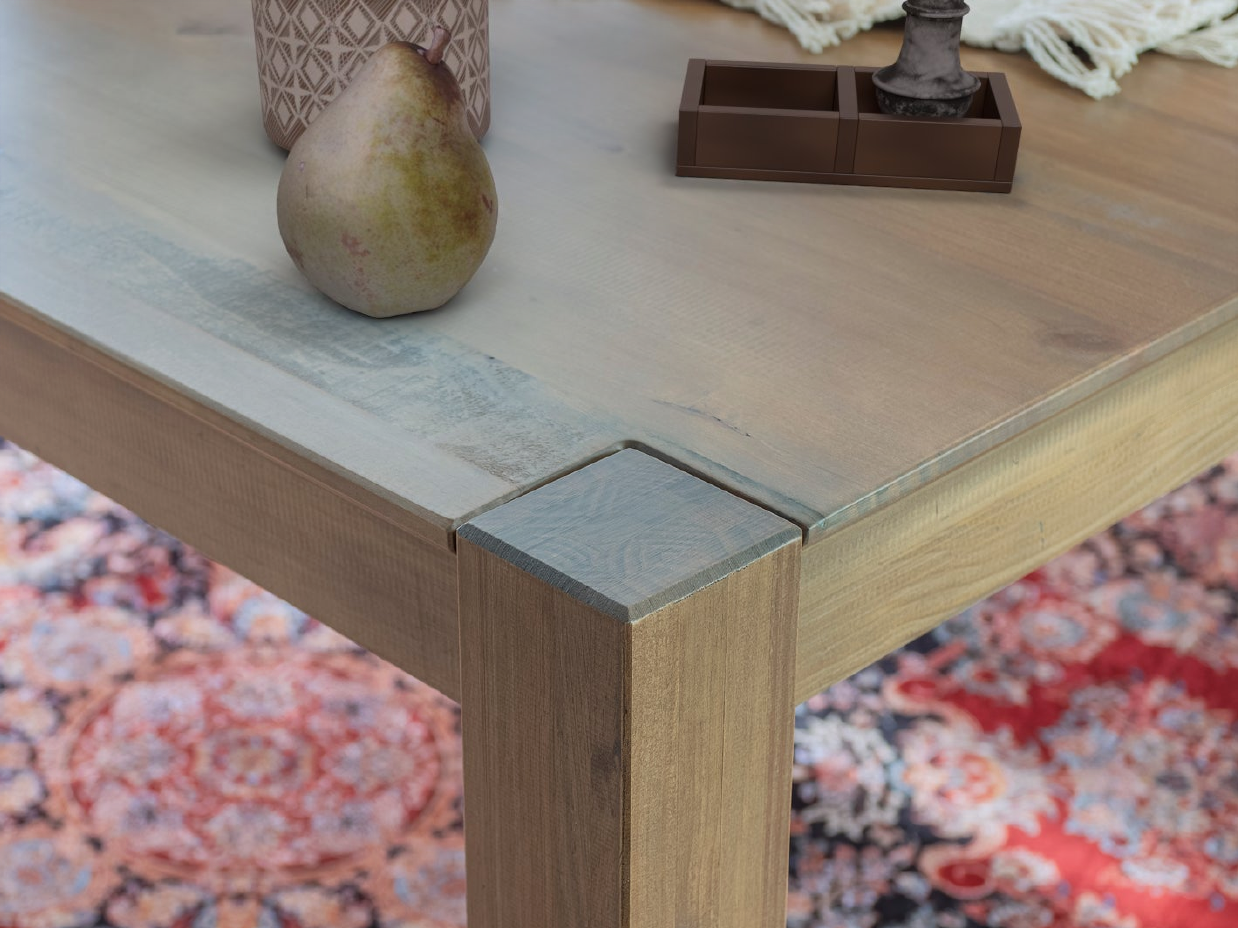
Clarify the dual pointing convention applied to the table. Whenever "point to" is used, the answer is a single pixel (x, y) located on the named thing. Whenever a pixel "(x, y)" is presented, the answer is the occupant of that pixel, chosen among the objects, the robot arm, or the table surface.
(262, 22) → the planter
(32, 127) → the table surface
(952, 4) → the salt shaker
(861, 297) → the table surface
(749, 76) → the rack
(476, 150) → the fruit
